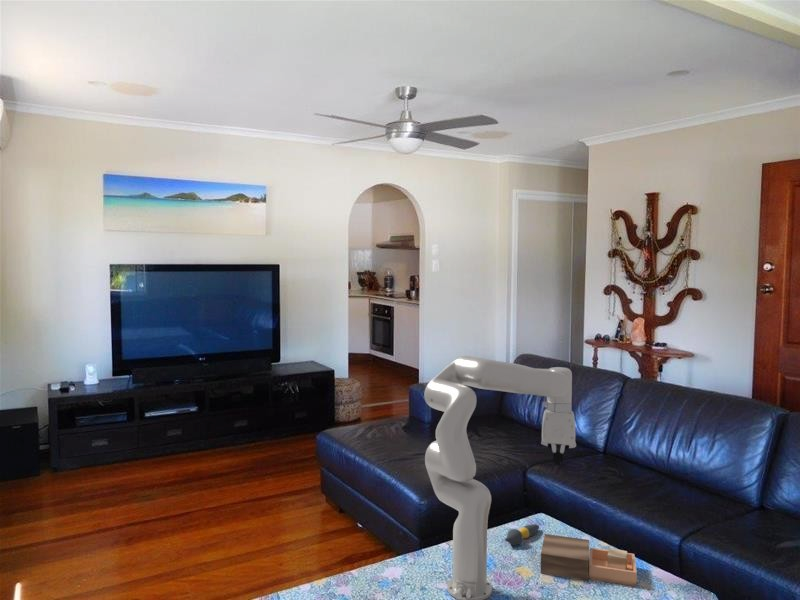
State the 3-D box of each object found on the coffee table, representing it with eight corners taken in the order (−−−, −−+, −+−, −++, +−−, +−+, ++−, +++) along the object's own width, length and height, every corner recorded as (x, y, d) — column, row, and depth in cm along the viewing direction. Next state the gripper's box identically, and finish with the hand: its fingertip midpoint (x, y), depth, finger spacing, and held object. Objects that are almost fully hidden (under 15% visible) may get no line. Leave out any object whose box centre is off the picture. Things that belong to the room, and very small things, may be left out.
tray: (636, 586, 172) (636, 572, 172) (588, 579, 176) (589, 565, 176) (634, 566, 183) (634, 553, 183) (589, 560, 188) (589, 547, 187)
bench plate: (588, 580, 175) (588, 560, 175) (540, 573, 180) (540, 553, 179) (588, 558, 189) (589, 539, 188) (544, 552, 193) (544, 533, 192)
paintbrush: (528, 526, 212) (528, 513, 212) (541, 530, 209) (541, 516, 208) (501, 547, 196) (501, 532, 196) (514, 552, 193) (515, 536, 193)
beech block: (607, 554, 178) (607, 571, 179) (625, 558, 176) (625, 575, 176) (609, 547, 183) (609, 563, 183) (627, 551, 181) (626, 567, 181)
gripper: (533, 407, 188) (532, 465, 189) (583, 411, 183) (582, 470, 184) (535, 402, 195) (535, 458, 196) (584, 406, 190) (583, 463, 191)
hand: (558, 464), depth 190 cm, fingers closed
